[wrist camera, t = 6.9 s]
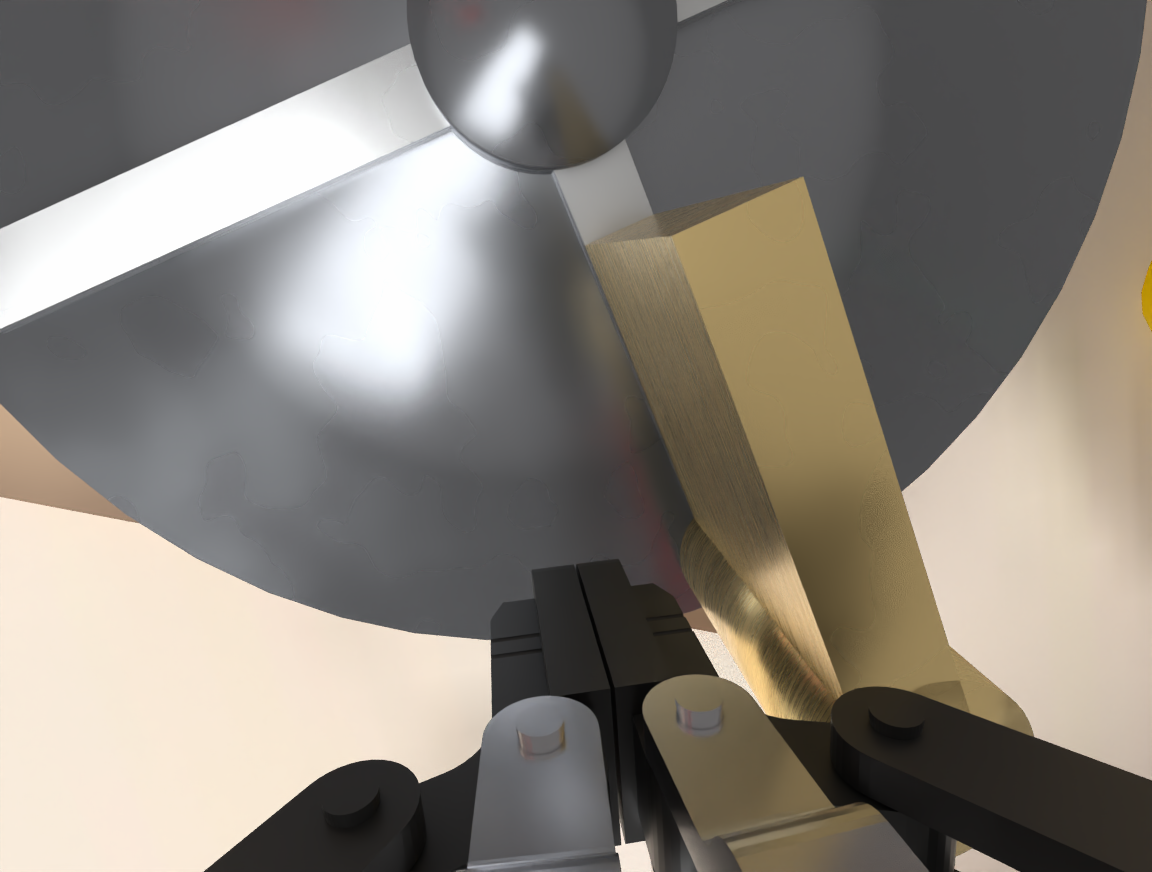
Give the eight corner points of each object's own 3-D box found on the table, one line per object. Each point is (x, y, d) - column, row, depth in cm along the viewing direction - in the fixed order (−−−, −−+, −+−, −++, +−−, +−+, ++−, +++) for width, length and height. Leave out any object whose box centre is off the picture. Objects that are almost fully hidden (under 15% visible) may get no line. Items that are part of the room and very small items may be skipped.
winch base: (794, 646, 24) (865, 738, 19) (-56, 484, 19) (-227, 556, 14) (1144, -285, 18) (1367, -469, 13) (38, -847, 13) (-201, -1425, 9)
